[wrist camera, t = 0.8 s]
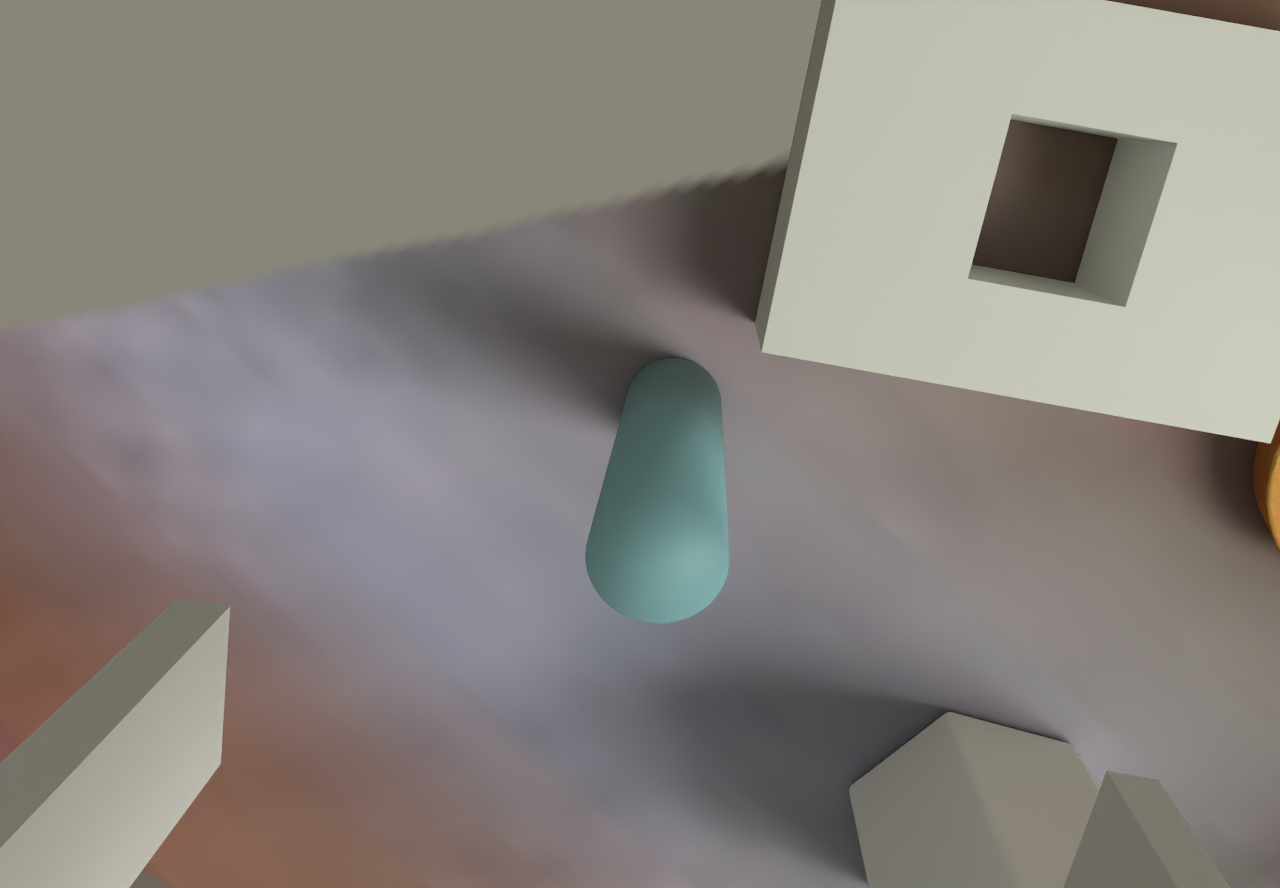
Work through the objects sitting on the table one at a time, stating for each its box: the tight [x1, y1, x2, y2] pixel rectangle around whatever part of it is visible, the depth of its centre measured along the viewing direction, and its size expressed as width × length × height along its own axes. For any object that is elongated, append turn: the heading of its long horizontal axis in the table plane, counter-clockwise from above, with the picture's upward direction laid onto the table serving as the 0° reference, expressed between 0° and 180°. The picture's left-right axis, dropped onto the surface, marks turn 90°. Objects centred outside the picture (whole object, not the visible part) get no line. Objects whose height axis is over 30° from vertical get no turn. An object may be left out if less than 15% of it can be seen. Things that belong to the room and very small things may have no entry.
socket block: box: [755, 0, 1280, 444], centre depth 29 cm, size 14×10×4 cm
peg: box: [586, 358, 729, 623], centre depth 28 cm, size 3×3×12 cm
